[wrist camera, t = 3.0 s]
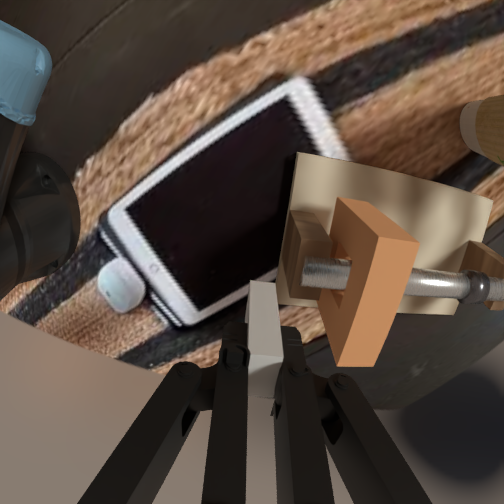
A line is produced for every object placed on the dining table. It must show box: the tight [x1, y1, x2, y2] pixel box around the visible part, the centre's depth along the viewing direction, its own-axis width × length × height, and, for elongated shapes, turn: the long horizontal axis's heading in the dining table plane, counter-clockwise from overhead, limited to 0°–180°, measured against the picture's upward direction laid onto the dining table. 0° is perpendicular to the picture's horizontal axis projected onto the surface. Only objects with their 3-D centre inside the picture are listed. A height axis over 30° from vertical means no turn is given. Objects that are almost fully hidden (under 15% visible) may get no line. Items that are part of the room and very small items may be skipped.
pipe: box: [299, 256, 504, 304], centre depth 24 cm, size 24×3×3 cm, turn 83°
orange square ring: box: [316, 197, 420, 367], centre depth 24 cm, size 3×10×10 cm, turn 173°
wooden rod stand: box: [275, 152, 504, 315], centre depth 28 cm, size 25×16×9 cm, turn 83°
